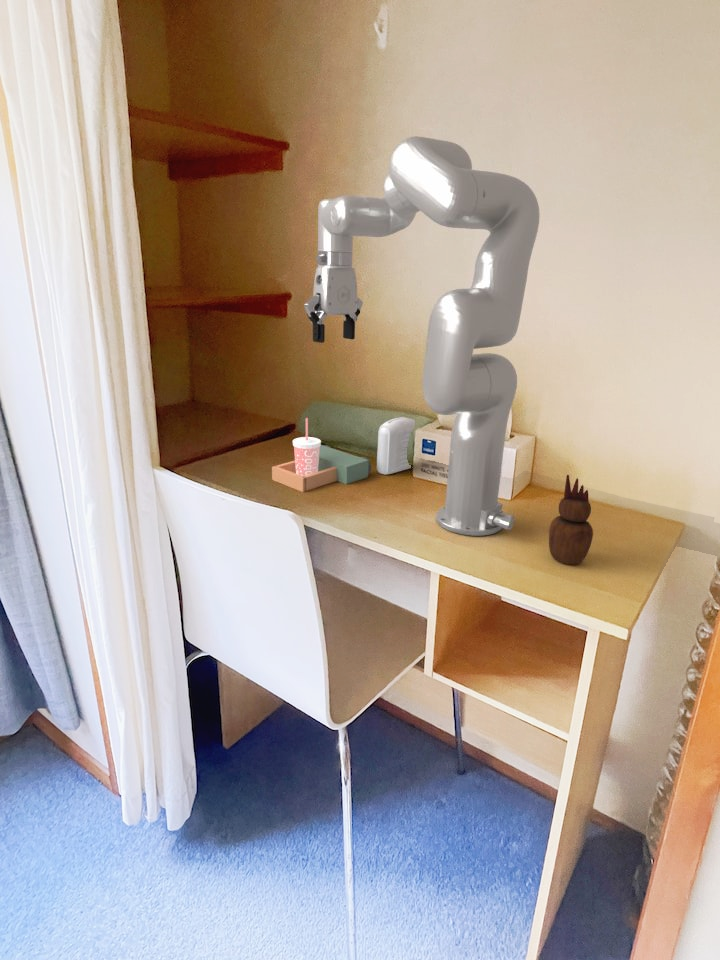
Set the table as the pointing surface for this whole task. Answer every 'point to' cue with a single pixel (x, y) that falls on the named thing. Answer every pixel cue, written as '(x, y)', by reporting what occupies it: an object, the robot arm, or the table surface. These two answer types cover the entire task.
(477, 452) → the robot arm
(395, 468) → the photo printer
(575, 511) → the wooden figurine
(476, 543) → the table surface
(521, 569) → the table surface
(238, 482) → the table surface
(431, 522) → the table surface
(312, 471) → the beverage cup
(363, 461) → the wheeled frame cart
